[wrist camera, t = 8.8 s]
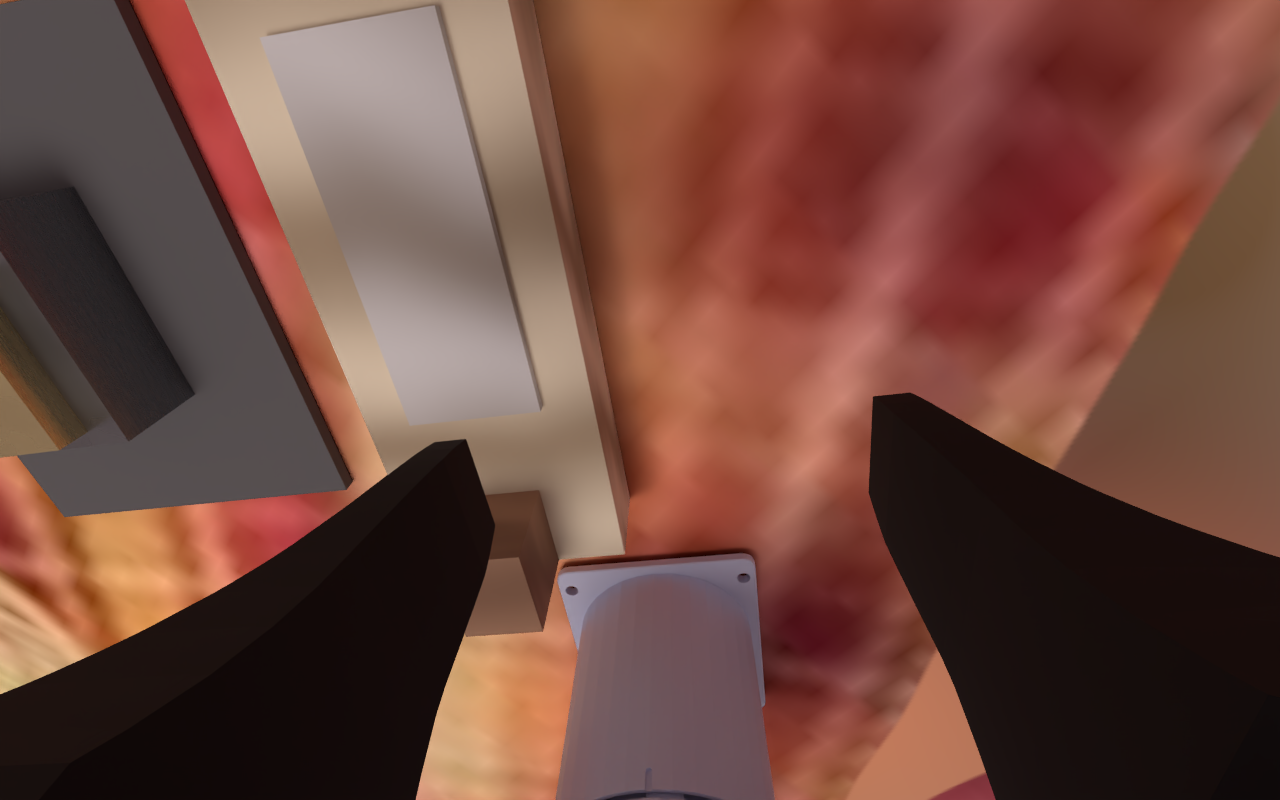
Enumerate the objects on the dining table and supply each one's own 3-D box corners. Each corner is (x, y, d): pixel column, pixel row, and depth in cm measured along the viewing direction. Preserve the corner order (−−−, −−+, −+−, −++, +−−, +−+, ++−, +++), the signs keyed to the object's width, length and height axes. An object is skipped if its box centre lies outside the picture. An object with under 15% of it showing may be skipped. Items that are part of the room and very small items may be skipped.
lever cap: (195, 394, 21) (101, 460, 18) (81, 408, 22) (-33, 476, 18) (74, 186, 18) (-72, 217, 14) (-58, 209, 18) (-230, 245, 15)
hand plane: (629, 498, 23) (618, 626, 18) (454, 514, 24) (394, 641, 19) (463, -357, 12) (315, -657, 7) (156, -280, 13) (-179, -501, 8)
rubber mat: (352, 481, 23) (346, 489, 23) (75, 508, 25) (64, 516, 24) (121, -15, 16) (106, -17, 15) (-265, 62, 17) (-289, 62, 16)
